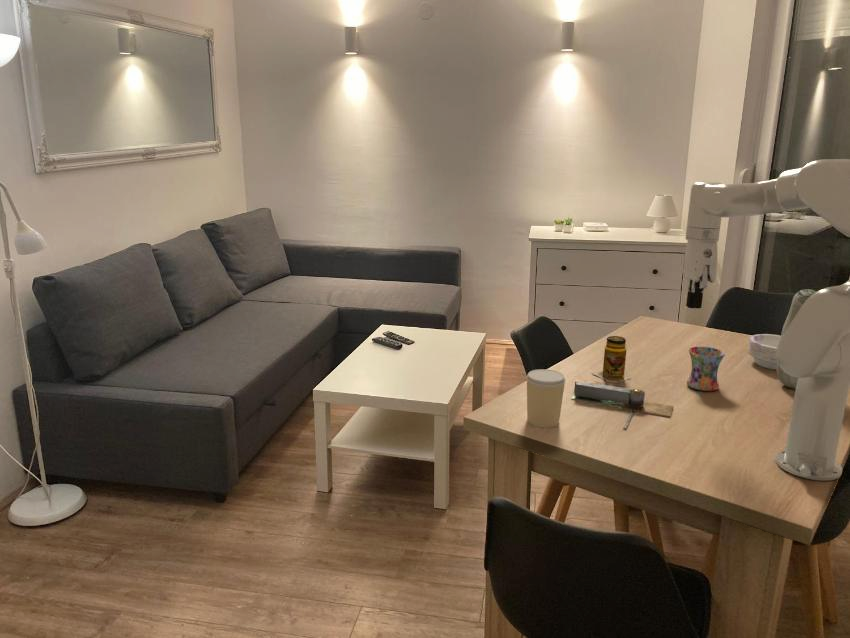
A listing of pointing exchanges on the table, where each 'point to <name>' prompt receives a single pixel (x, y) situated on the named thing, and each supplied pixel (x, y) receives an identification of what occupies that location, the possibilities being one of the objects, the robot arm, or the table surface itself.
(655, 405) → the plate
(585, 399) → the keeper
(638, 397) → the swing bar
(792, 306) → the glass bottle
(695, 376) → the mug
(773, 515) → the table surface
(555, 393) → the coffee cup
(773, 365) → the paper bowls
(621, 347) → the condiment
